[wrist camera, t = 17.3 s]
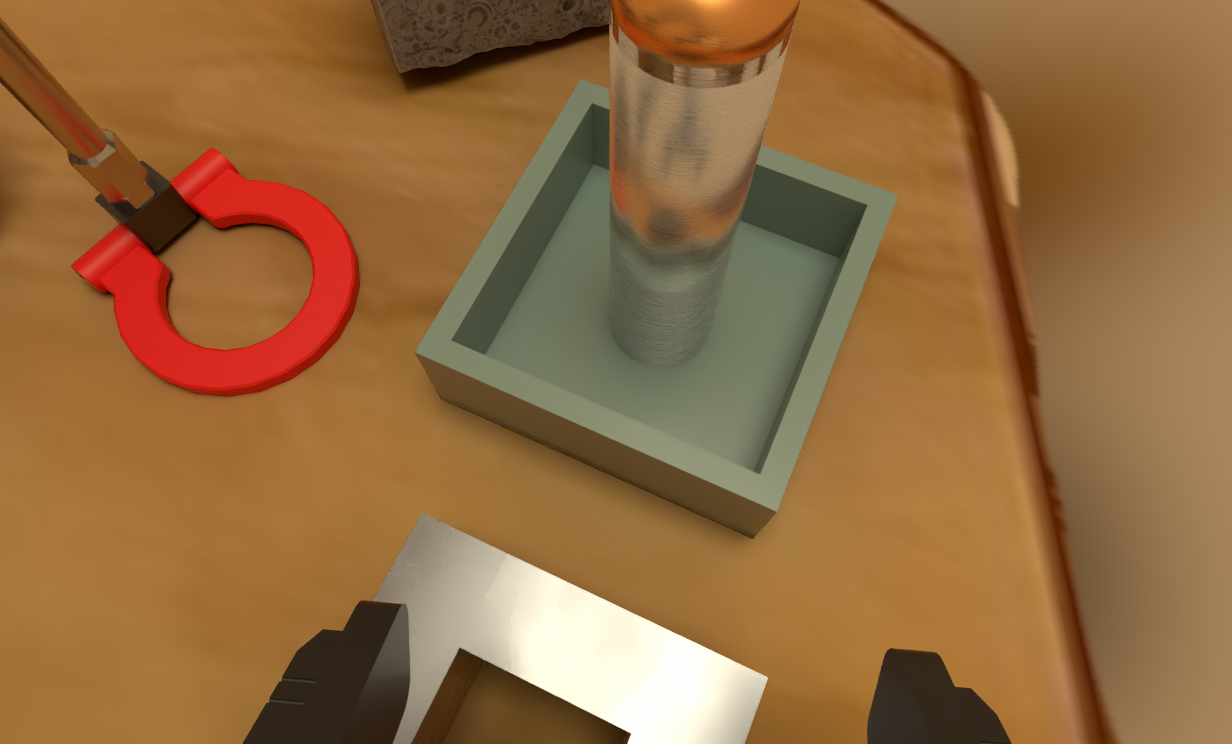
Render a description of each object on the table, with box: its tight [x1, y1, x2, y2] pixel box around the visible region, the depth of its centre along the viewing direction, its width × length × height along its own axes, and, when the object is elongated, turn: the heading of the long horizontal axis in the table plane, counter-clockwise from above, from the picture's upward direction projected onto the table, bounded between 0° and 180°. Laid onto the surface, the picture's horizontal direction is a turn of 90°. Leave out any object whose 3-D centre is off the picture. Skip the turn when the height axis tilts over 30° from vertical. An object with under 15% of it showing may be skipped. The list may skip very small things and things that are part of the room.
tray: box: [415, 79, 898, 538], centre depth 27 cm, size 12×12×4 cm
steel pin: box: [609, 0, 800, 367], centre depth 21 cm, size 4×4×15 cm
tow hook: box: [0, 18, 360, 396], centre depth 23 cm, size 8×13×9 cm
